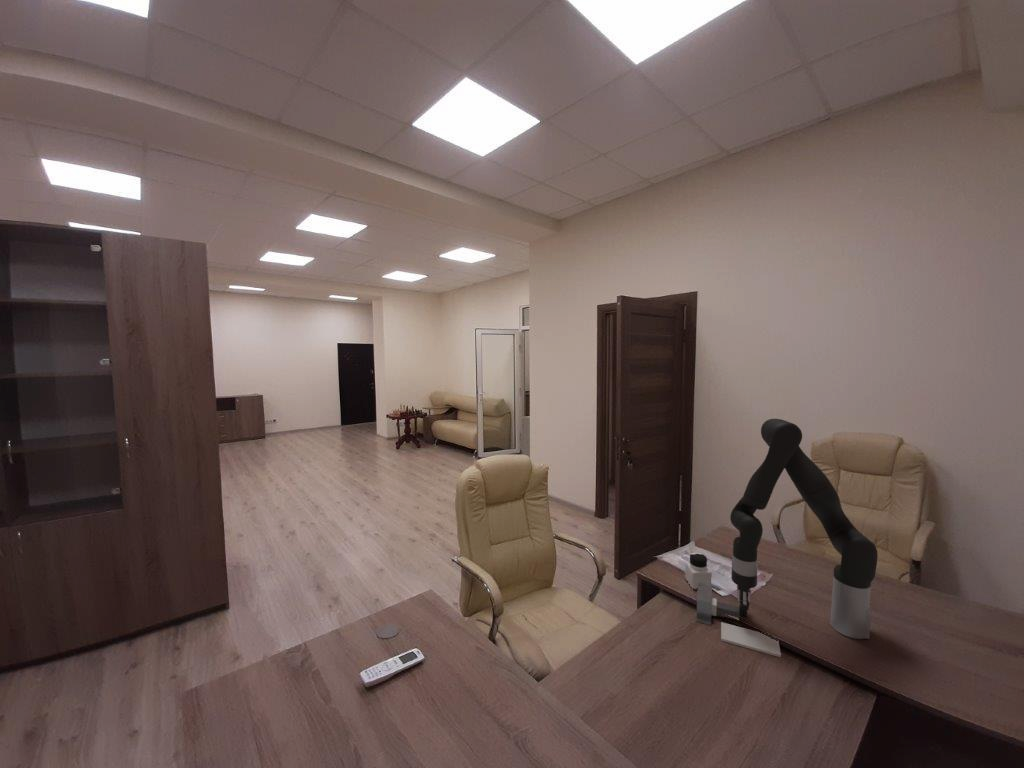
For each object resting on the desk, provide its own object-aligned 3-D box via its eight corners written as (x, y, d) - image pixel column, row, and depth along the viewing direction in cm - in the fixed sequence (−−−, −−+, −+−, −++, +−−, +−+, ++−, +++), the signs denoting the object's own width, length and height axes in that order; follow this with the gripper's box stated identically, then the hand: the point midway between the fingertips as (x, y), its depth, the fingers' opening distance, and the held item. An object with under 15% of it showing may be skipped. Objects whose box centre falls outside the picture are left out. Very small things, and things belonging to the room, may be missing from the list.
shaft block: (711, 598, 147) (712, 582, 147) (711, 625, 134) (711, 607, 133) (698, 595, 149) (698, 579, 149) (696, 621, 136) (696, 603, 136)
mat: (777, 639, 127) (777, 636, 127) (780, 657, 120) (781, 655, 120) (721, 624, 135) (721, 622, 134) (721, 640, 128) (721, 638, 127)
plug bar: (738, 614, 139) (739, 604, 138) (739, 622, 135) (739, 611, 135) (703, 606, 144) (704, 595, 143) (703, 613, 140) (703, 602, 140)
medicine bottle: (711, 589, 153) (712, 560, 151) (692, 590, 153) (693, 560, 151) (702, 578, 160) (703, 550, 158) (684, 578, 160) (685, 550, 158)
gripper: (759, 582, 127) (757, 632, 129) (755, 561, 138) (754, 607, 140) (732, 577, 130) (731, 625, 132) (731, 556, 142) (729, 601, 144)
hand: (742, 616), depth 136 cm, fingers closed
